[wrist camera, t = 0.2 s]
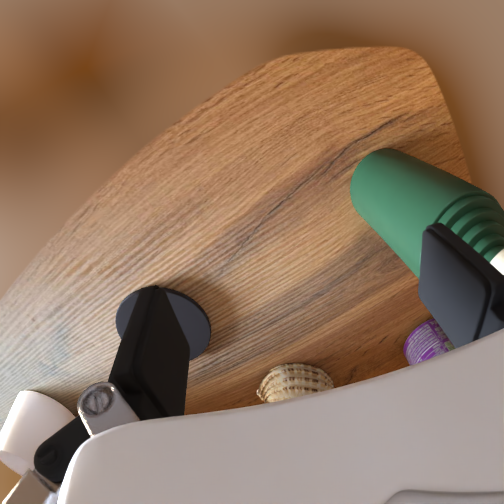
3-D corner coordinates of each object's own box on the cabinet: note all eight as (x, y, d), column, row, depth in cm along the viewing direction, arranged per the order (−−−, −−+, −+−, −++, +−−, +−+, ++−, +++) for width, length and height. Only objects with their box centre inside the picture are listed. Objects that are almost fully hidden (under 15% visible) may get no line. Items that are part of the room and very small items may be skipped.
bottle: (347, 151, 25) (494, 246, 9) (418, 146, 25) (575, 223, 9) (351, 228, 28) (456, 373, 13) (417, 218, 28) (540, 332, 12)
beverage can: (443, 346, 37) (483, 410, 26) (398, 362, 37) (434, 434, 27) (451, 306, 34) (502, 373, 23) (403, 323, 34) (448, 400, 23)
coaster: (102, 294, 30) (100, 297, 29) (197, 279, 29) (196, 283, 29) (137, 363, 34) (136, 367, 34) (220, 355, 34) (220, 359, 34)
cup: (17, 379, 36) (-11, 439, 25) (83, 412, 39) (64, 478, 28) (19, 411, 40) (-2, 463, 30) (76, 439, 43) (61, 494, 33)
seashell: (269, 387, 41) (340, 403, 38) (252, 420, 36) (330, 440, 33) (270, 347, 38) (351, 365, 34) (251, 382, 33) (342, 404, 29)
